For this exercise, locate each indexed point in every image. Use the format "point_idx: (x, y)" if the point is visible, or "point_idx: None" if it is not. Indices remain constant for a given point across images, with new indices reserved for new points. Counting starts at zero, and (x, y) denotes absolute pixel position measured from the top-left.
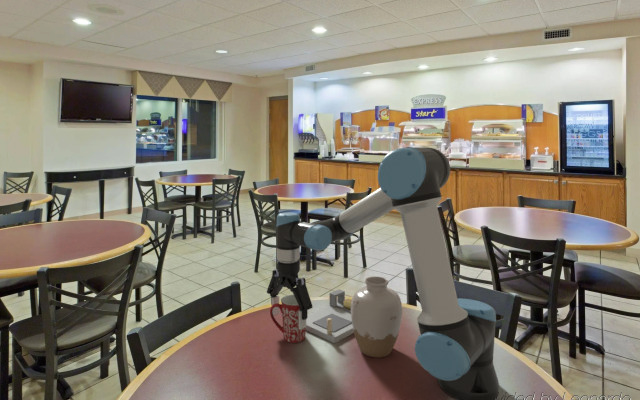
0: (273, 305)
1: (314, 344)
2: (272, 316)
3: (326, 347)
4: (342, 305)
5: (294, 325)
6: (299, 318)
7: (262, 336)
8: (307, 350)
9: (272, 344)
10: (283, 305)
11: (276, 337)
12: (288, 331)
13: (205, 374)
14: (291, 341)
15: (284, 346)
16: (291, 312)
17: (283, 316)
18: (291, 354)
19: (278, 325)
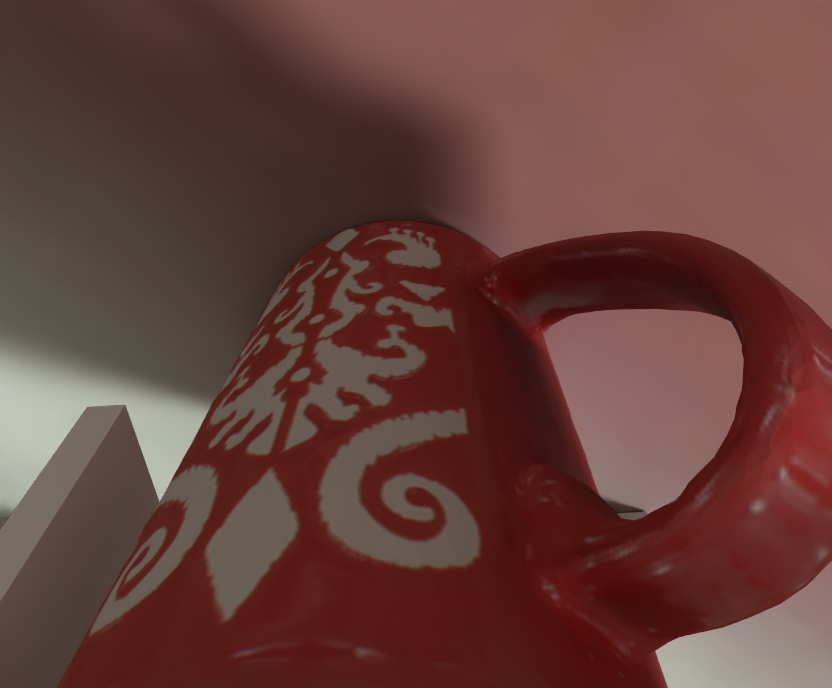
0: (774, 473)
1: (131, 412)
2: (680, 269)
3: (10, 457)
4: None
5: (211, 411)
6: (9, 550)
7: (764, 40)
8: (46, 283)
9: (452, 20)
10: (376, 636)
11: (576, 185)
12: (317, 294)
13: None
14: (307, 254)
15: (293, 125)
16: (143, 572)
17: (424, 413)
18: (49, 72)
19: (550, 271)
